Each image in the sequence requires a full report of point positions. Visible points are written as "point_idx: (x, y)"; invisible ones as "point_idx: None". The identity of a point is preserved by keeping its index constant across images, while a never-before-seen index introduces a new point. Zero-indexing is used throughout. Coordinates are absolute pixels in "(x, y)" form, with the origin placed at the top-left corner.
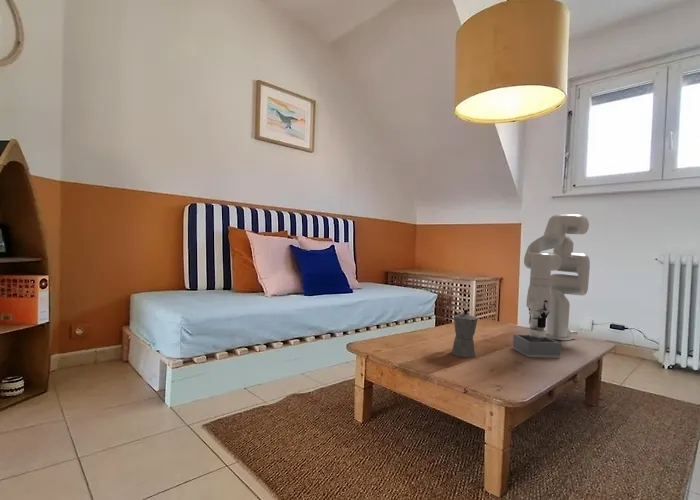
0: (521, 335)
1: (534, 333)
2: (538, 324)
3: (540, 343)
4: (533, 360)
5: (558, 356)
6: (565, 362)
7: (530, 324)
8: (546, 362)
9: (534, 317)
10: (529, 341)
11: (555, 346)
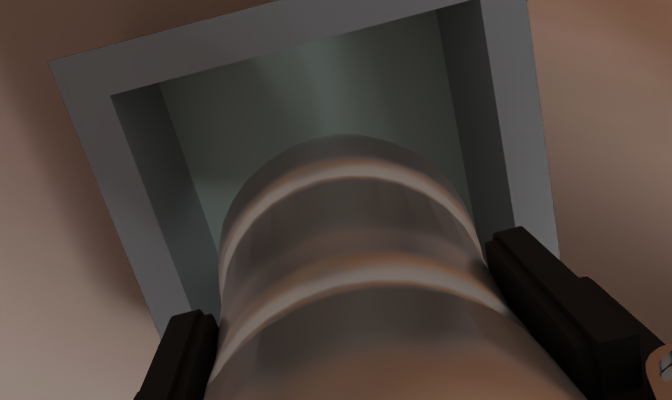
0: (487, 63)
1: (235, 213)
2: (157, 351)
3: (121, 226)
4: (7, 76)
5: None
6: (99, 361)
7: (350, 213)
8: (2, 192)
9: (229, 375)
10: (104, 84)
11: None
